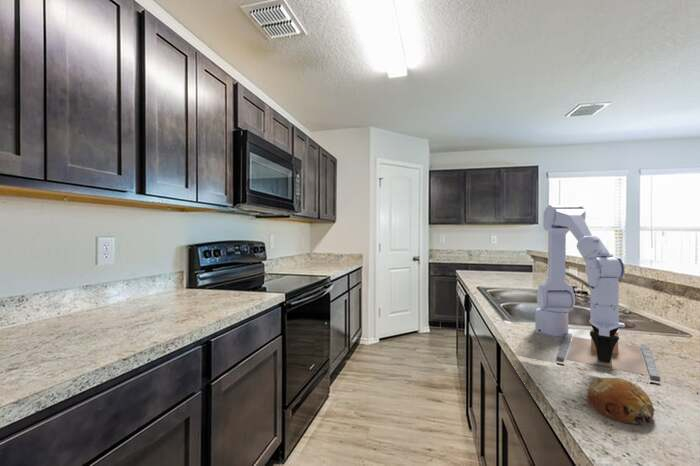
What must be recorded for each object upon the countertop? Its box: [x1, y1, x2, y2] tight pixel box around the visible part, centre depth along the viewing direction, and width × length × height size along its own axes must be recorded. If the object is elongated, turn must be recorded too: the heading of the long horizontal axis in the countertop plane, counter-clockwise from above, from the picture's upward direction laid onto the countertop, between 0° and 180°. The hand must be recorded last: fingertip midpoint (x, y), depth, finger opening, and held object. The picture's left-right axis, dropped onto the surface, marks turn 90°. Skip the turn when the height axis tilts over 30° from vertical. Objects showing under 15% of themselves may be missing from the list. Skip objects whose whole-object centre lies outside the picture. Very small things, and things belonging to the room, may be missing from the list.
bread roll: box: [587, 377, 656, 425], centre depth 65 cm, size 10×10×8 cm
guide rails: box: [555, 332, 661, 386], centre depth 91 cm, size 20×26×2 cm
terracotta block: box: [590, 326, 619, 354], centre depth 95 cm, size 6×6×6 cm
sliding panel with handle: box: [565, 336, 648, 376], centre depth 92 cm, size 16×24×6 cm, turn 142°
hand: (604, 357), depth 84 cm, fingers open, 7 cm apart
